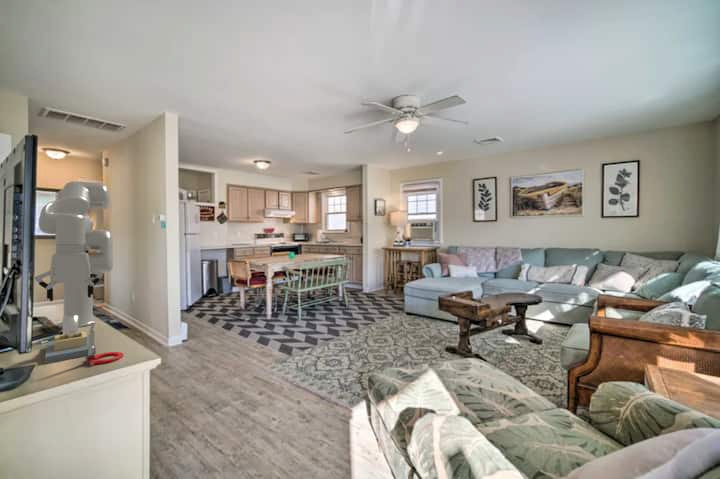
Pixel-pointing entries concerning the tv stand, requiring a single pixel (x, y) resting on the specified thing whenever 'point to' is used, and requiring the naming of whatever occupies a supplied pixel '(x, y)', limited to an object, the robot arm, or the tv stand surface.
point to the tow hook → (92, 358)
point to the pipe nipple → (70, 326)
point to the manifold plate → (67, 347)
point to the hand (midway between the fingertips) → (70, 298)
